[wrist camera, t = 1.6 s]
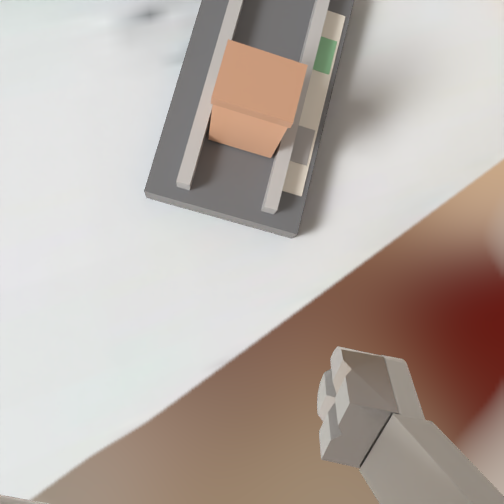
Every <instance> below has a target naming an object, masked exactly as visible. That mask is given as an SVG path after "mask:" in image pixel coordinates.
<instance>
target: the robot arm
mask: <svg viewBox="0 0 504 504" xmlns="http://www.w3.org/2000/svg"><path fill="white" fill-rule="evenodd" d="M330 360H331V369H330V370H328V371H326V372H325V373H324V375H323V377H322V380H321V382H320V387H319V391H318V399H317V409H318V415H319V417H320V418H321V419H322V421H323V424H322V427H321V429H320V431H319V437H320V449H321V459H322V460H326V461H330V462H335V463H339V464H343V465H348V466H352V467H357V468H360V470H359V471H360V472H361V474H362V475H363V477H364V479H365V480H366V482H367V484H368V485H369V487H370V489H371V490H372V492H373V494H374V495H375V497H376V498H377V500H378V502H379V503H380V504H504V496H503V495H502V494H501V493H500V492H499V491H498V490H497V489H496V488H495V487H494V486H493V484H492V483H491V482H490V481H489V480H488V479H487V478H486V477H485V476H484V475H483V474H482V473H481V472H480V471H479V470H478V469H477V468H476V467H475V466H474V465H473V464H472V463H471V462H470V461H469V459H468V458H467V457H466V456H465V455H464V454H463V453H462V452H461V451H460V450H459V449H458V448H457V447H456V446H455V445H454V444H453V443H452V442H451V441H450V440H449V439H448V438H447V437H446V436H445V435H444V433H442V432H441V431H440V429H439V428H438V427H437V426H436V425H435V424H434V423H433V422H432V421H427V420H425V418H424V415H423V412H422V408H421V405H420V402H419V399H418V396H417V393H416V390H415V387H414V384H413V382H412V378H411V375H410V372H409V369H408V366H407V363H406V362H405V361H404V360H403V359H399V358H393V357H389V356H383V355H381V356H380V355H376V354H372V353H367V352H362V351H357V350H352V349H347V348H343V347H337V348H336V349H335V350H334V352H333V354H332V356H331V359H330ZM0 504H47V503H42V502H36V501H31V500H26V499H20V498H15V497H9V496H4V495H0Z"/></svg>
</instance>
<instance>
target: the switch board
mask: <svg viewBox="0 0 504 504" xmlns="http://www.w3.org/2000/svg"><path fill="white" fill-rule="evenodd" d="M353 3H354V0H202V2H201V5H200V8H199V12H198V15H197V18H196V22H195V25H194V28H193V32H192V35H191V38H190V41H189V45H188V48H187V51H186V55H185V58H184V61H183V65H182V68H181V71H180V74H179V78H178V81H177V84H176V88H175V91H174V94H173V98H172V101H171V104H170V108H169V111H168V114H167V117H166V121H165V124H164V127H163V131H162V134H161V137H160V141H159V144H158V147H157V150H156V154H155V157H154V160H153V164H152V167H151V170H150V174H149V177H148V180H147V183H146V187H145V190H144V192H145V195H146V197H147V198H150V199H153V200H157V201H160V202H164V203H167V204H171V205H175V206H178V207H182V208H185V209H189V210H192V211H196V212H199V213H203V214H207V215H210V216H214V217H217V218H221V219H224V220H228V221H231V222H235V223H239V224H242V225H246V226H249V227H253V228H256V229H260V230H263V231H267V232H271V233H274V234H278V235H281V236H285V237H288V238H293V237H294V236H296V235H297V234H298V230H299V226H300V222H301V217H302V213H303V209H304V205H305V201H306V197H307V193H308V189H309V184H310V180H311V176H312V172H313V168H314V164H315V160H316V155H317V151H318V147H319V143H320V139H321V135H322V131H323V127H324V122H325V118H326V114H327V110H328V106H329V102H330V98H331V93H332V89H333V85H334V81H335V77H336V73H337V69H338V65H339V60H340V56H341V52H342V48H343V44H344V40H345V36H346V31H347V27H348V23H349V19H350V15H351V11H352V7H353ZM228 39H229V40H232V41H235V42H238V43H241V44H244V45H248V46H251V47H254V48H257V49H260V50H263V51H266V52H269V53H272V54H275V55H278V56H281V57H284V58H287V59H290V60H293V61H296V62H300V63H303V64H306V65H308V67H307V70H306V74H305V78H304V82H303V86H302V90H301V94H300V98H299V102H298V106H297V110H296V114H295V118H294V122H293V124H292V126H291V128H287V130H286V132H285V134H284V135H283V137H282V139H281V141H280V143H279V144H278V146H277V148H276V150H275V152H274V153H273V155H272V157H271V158H268V157H265V156H261V155H258V154H255V153H251V152H248V151H245V150H241V149H238V148H235V147H231V146H228V145H225V144H221V143H218V142H215V141H211V140H208V138H209V130H210V122H211V113H212V105H213V104H211V97H212V93H213V90H214V87H215V83H216V80H217V76H218V73H219V69H220V66H221V62H222V59H223V55H224V52H225V48H226V45H227V41H228Z"/></svg>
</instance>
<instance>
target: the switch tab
mask: <svg viewBox="0 0 504 504" xmlns="http://www.w3.org/2000/svg"><path fill="white" fill-rule="evenodd" d="M307 67H308V65H306V64H303V63H300V62H296V61H293V60H290V59H287V58H284V57H281V56H278V55H275V54H272V53H269V52H266V51H263V50H260V49H257V48H254V47H251V46H248V45H244V44H241V43H238V42H235V41H232V40H229V39H228V41H227V45H226V48H225V52H224V55H223V59H222V62H221V66H220V69H219V73H218V76H217V80H216V83H215V87H214V90H213V93H212V97H211V104H213V105H212V113H211V122H210V130H209V138H208V140H211V141H215V142H218V143H221V144H225V145H228V146H231V147H235V148H238V149H241V150H245V151H248V152H251V153H255V154H258V155H261V156H265V157H268V158H271V157H272V155H273V153H274V152H275V150H276V148H277V146H278V144H279V143H280V141H281V139H282V137H283V135H284V134H285V132H286V130H287V128H291V126H292V124H293V122H294V118H295V114H296V110H297V106H298V102H299V98H300V94H301V90H302V86H303V82H304V78H305V74H306V70H307Z"/></svg>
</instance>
